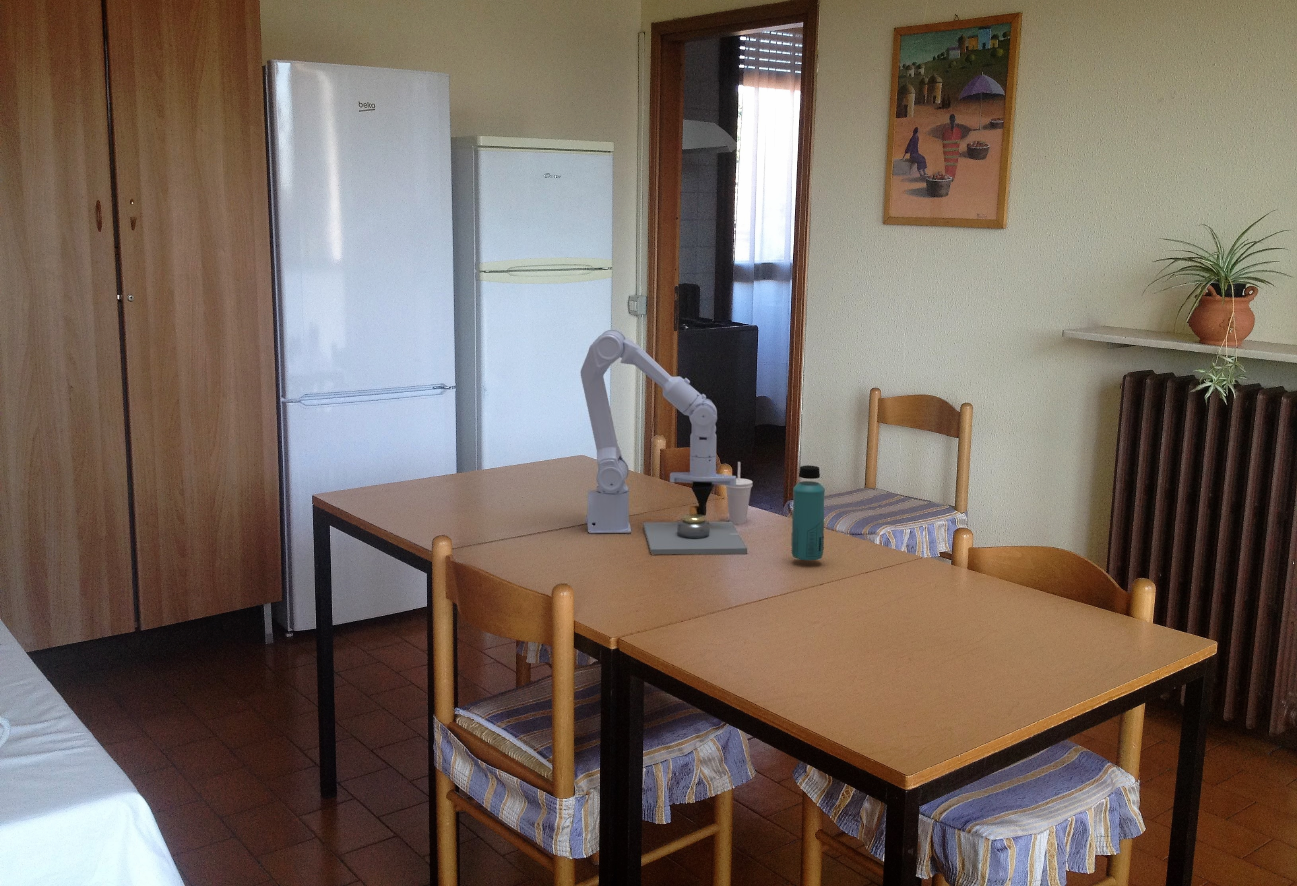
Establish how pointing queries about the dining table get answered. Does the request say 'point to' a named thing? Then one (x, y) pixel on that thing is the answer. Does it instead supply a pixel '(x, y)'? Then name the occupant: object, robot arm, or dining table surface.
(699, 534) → the crank
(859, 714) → the dining table surface
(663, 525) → the stand
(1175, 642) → the dining table surface
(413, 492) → the dining table surface
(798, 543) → the beverage bottle
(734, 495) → the smoothie
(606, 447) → the robot arm
